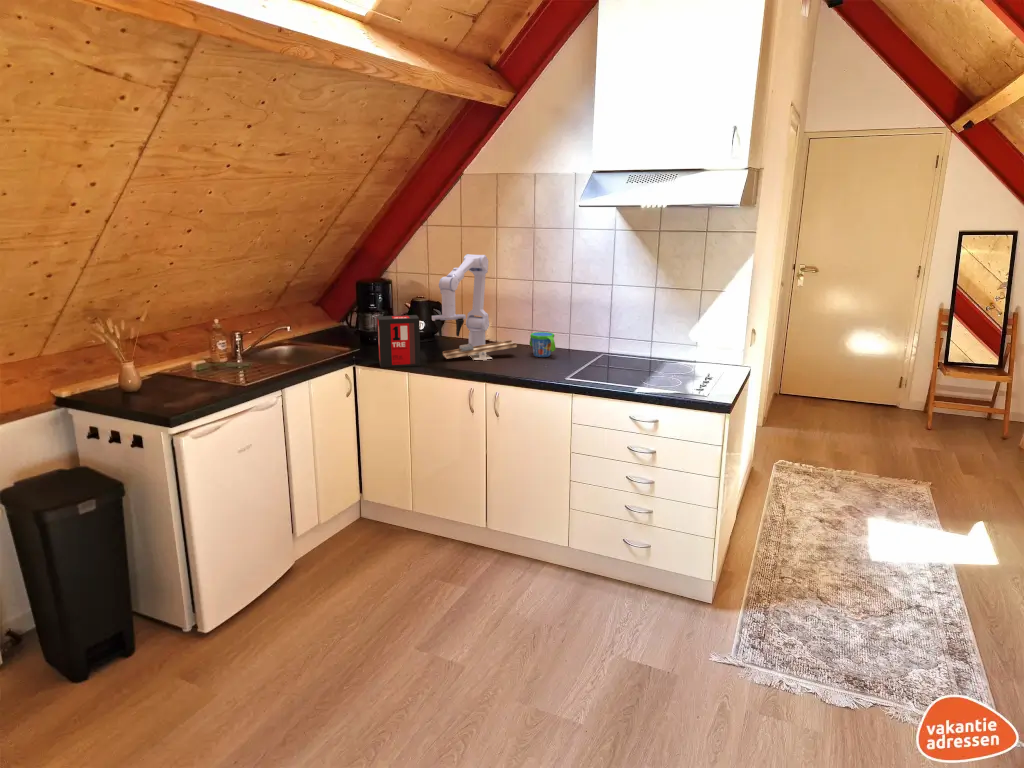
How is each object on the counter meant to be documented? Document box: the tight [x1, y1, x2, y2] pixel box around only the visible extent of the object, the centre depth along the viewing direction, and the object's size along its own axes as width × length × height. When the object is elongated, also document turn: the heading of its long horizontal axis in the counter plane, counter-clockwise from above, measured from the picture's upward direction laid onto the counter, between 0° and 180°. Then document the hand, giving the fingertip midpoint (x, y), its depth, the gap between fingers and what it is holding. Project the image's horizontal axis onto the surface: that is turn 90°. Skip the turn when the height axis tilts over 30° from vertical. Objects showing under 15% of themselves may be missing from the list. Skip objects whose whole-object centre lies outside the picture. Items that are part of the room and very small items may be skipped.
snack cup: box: [529, 331, 556, 358], centre depth 299 cm, size 16×10×10 cm
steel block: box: [459, 343, 474, 352], centre depth 292 cm, size 5×5×2 cm
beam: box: [442, 339, 518, 360], centre depth 294 cm, size 32×7×2 cm, turn 108°
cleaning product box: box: [376, 314, 421, 368], centre depth 280 cm, size 16×9×20 cm, turn 105°
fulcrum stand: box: [467, 352, 493, 361], centre depth 295 cm, size 11×8×4 cm
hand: (449, 336), depth 288 cm, fingers open, 7 cm apart
